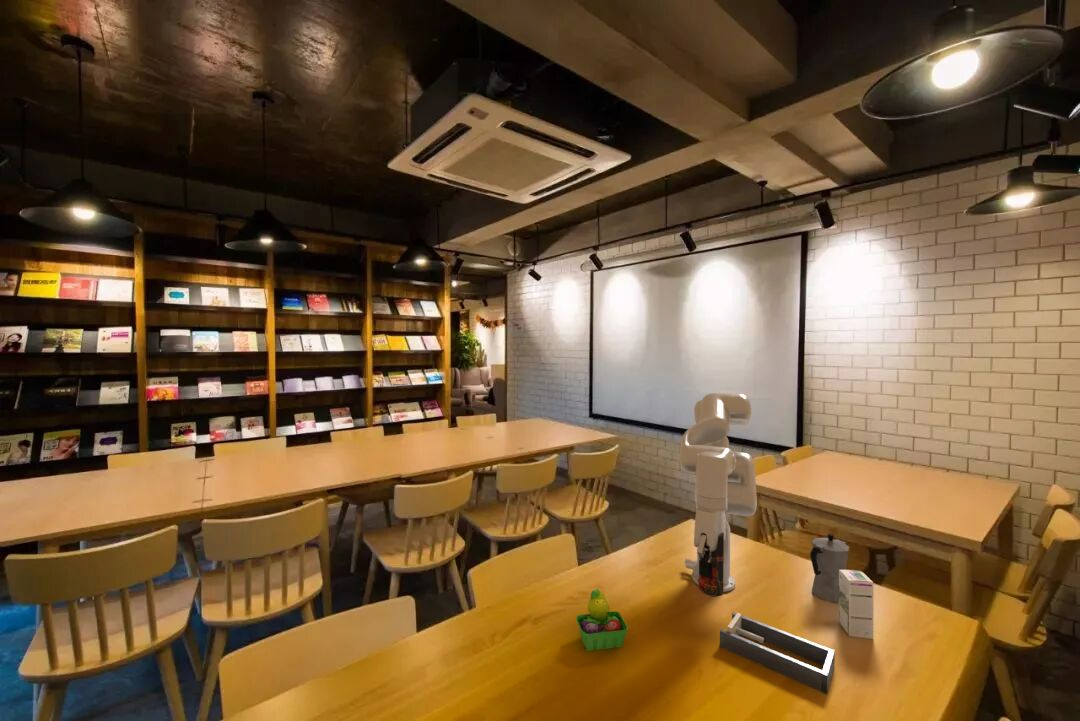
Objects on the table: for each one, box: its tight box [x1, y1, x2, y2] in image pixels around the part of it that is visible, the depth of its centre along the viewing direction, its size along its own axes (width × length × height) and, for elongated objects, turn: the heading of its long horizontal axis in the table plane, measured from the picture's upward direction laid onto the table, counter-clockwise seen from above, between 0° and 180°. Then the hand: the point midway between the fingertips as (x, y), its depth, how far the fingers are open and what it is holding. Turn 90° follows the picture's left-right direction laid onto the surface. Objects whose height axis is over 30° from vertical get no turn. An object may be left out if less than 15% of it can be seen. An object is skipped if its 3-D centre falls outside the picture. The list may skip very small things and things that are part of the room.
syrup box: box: [838, 569, 875, 640], centre depth 111 cm, size 6×6×14 cm
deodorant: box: [698, 533, 724, 598], centre depth 111 cm, size 6×6×15 cm
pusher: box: [726, 612, 765, 644], centre depth 106 cm, size 7×7×4 cm
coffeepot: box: [809, 533, 850, 604], centre depth 127 cm, size 15×9×18 cm, turn 116°
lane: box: [719, 611, 836, 695], centre depth 102 cm, size 22×10×4 cm, turn 49°
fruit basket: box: [575, 589, 629, 652], centre depth 108 cm, size 11×9×11 cm
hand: (710, 570), depth 112 cm, fingers closed on deodorant, 5 cm apart
